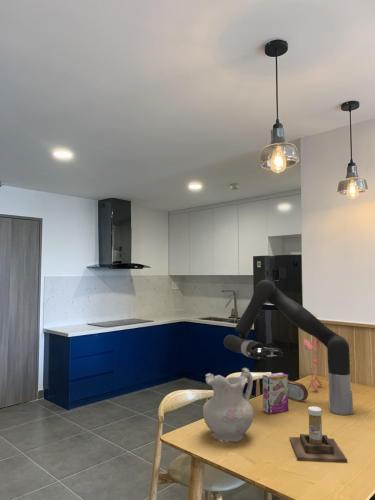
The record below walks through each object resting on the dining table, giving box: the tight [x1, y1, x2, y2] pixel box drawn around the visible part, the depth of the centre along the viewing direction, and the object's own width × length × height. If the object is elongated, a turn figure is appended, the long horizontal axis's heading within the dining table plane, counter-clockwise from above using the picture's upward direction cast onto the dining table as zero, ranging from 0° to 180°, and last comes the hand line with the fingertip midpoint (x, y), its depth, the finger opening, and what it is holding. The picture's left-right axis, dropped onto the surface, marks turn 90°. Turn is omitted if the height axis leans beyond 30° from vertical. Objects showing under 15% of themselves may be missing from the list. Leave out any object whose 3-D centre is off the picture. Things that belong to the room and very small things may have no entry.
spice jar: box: [307, 406, 323, 445], centre depth 133 cm, size 5×5×13 cm
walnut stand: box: [289, 433, 348, 463], centre depth 132 cm, size 16×16×4 cm
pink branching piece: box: [303, 336, 323, 393], centre depth 203 cm, size 15×26×35 cm, turn 149°
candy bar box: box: [262, 372, 289, 415], centre depth 171 cm, size 11×5×16 cm, turn 114°
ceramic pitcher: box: [202, 367, 255, 443], centre depth 146 cm, size 22×20×25 cm
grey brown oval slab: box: [288, 379, 309, 402], centre depth 188 cm, size 15×3×8 cm, turn 40°
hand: (274, 355), depth 157 cm, fingers open, 8 cm apart
